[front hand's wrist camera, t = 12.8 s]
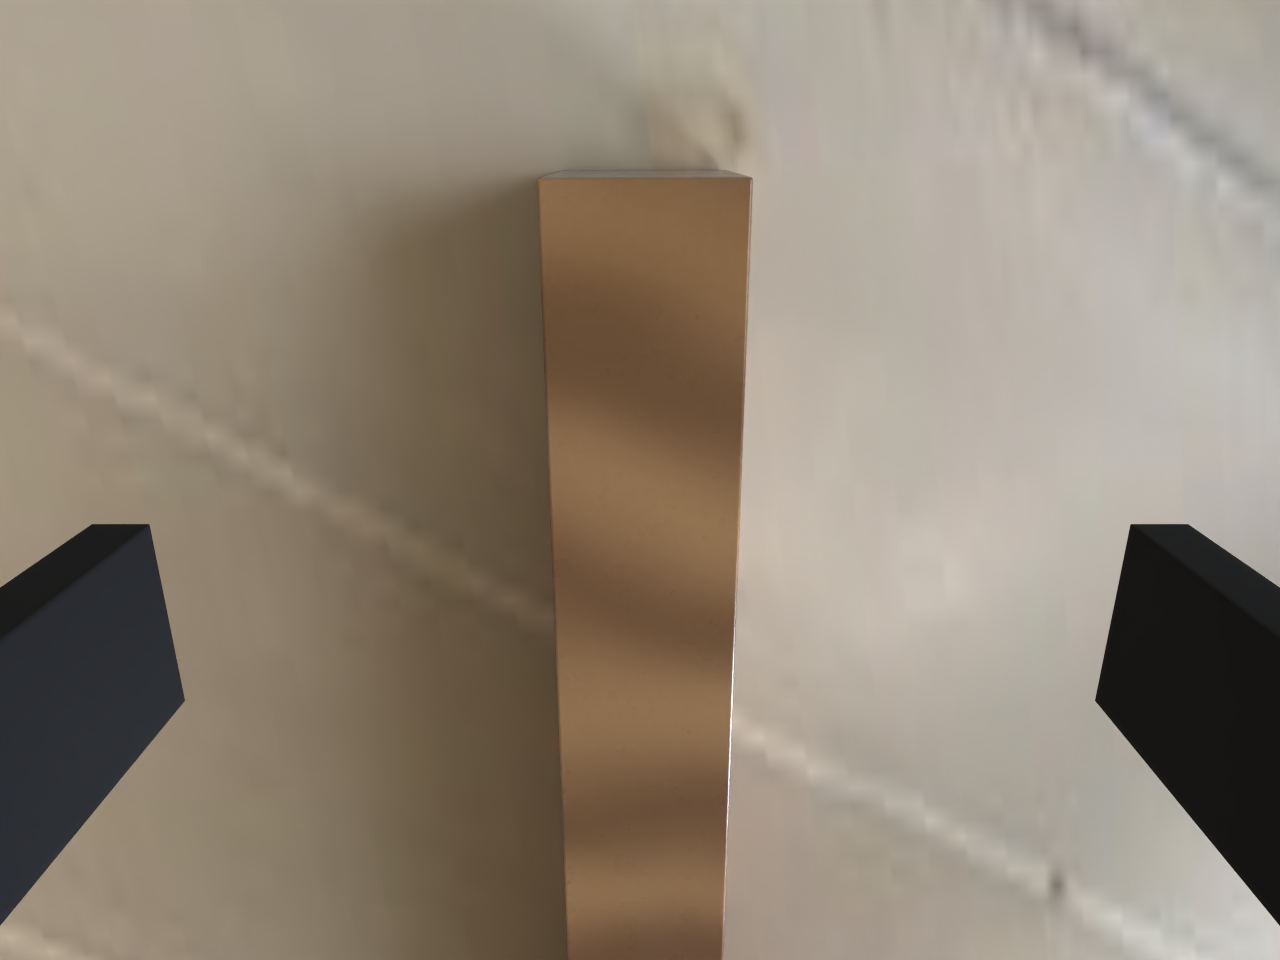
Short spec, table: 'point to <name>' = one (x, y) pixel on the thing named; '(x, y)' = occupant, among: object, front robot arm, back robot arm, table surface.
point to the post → (645, 543)
